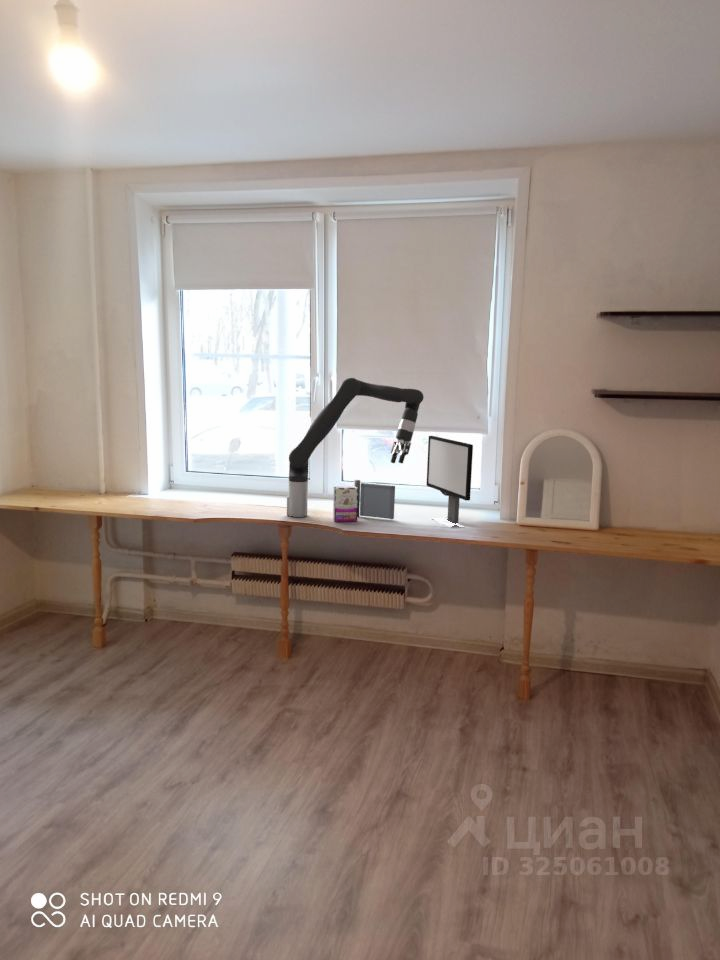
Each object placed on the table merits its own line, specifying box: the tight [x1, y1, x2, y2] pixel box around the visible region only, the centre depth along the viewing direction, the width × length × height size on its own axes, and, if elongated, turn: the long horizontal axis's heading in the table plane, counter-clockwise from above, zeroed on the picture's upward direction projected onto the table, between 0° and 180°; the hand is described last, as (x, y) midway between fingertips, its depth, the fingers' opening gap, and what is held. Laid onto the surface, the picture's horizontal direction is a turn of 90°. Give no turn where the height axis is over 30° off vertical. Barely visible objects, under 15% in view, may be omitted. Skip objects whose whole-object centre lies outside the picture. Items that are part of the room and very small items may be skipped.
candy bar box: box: [332, 486, 358, 523], centre depth 331 cm, size 11×5×16 cm, turn 101°
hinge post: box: [353, 479, 361, 518], centre depth 341 cm, size 3×3×18 cm
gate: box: [359, 482, 396, 520], centre depth 337 cm, size 17×2×16 cm, turn 69°
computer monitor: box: [426, 435, 474, 529], centre depth 331 cm, size 41×8×40 cm, turn 21°
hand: (396, 462), depth 331 cm, fingers open, 8 cm apart
